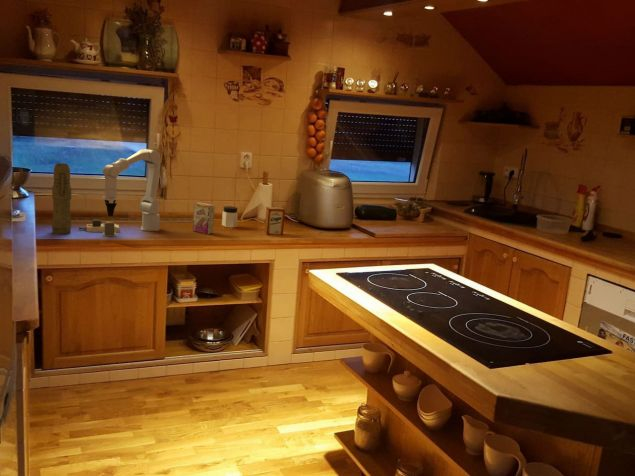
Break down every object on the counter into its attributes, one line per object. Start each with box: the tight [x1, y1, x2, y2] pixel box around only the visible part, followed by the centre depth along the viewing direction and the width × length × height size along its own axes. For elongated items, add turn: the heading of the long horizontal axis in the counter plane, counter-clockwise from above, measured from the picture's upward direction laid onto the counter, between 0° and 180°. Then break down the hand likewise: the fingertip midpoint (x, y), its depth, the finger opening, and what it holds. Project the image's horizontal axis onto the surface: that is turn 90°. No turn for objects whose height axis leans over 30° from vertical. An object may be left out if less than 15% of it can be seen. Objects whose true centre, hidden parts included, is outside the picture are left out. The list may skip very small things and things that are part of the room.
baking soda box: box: [264, 206, 286, 236], centre depth 349 cm, size 10×6×16 cm
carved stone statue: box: [51, 162, 72, 235], centre depth 303 cm, size 9×12×35 cm
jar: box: [221, 205, 239, 228], centre depth 359 cm, size 9×8×12 cm
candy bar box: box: [192, 201, 215, 235], centre depth 336 cm, size 11×5×16 cm, turn 59°
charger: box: [104, 221, 115, 235], centre depth 310 cm, size 4×4×6 cm
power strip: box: [78, 223, 120, 233], centre depth 318 cm, size 20×8×3 cm, turn 111°
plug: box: [91, 218, 102, 226], centre depth 317 cm, size 4×4×3 cm
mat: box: [101, 232, 118, 237], centre depth 311 cm, size 7×7×1 cm
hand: (110, 214), depth 310 cm, fingers open, 7 cm apart
